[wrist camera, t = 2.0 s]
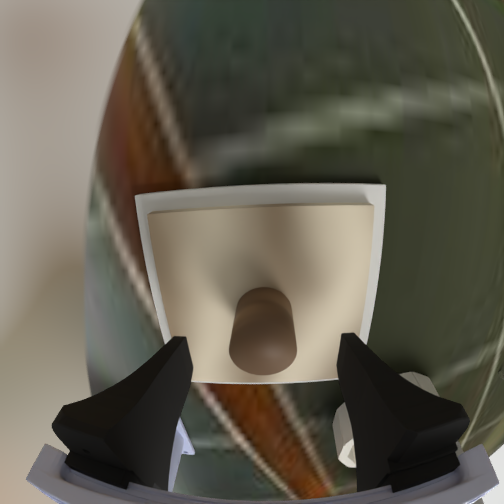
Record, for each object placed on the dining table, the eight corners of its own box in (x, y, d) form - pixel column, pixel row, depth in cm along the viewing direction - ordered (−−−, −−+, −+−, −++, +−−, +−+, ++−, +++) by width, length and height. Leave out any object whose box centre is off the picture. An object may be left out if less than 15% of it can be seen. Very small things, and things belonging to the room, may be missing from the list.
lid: (185, 372, 19) (170, 417, 15) (152, 211, 15) (114, 234, 11) (348, 369, 18) (361, 414, 14) (369, 202, 14) (404, 223, 10)
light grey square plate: (177, 376, 20) (175, 380, 19) (138, 194, 15) (134, 195, 15) (357, 372, 19) (358, 376, 19) (382, 184, 14) (385, 185, 14)
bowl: (326, 443, 23) (331, 474, 19) (343, 382, 19) (352, 421, 16) (412, 426, 22) (422, 453, 18) (444, 363, 19) (463, 393, 15)
